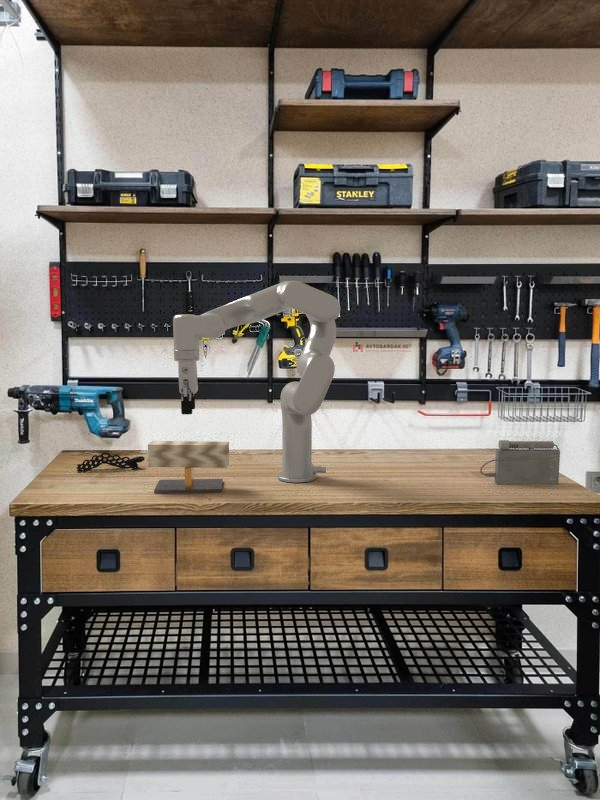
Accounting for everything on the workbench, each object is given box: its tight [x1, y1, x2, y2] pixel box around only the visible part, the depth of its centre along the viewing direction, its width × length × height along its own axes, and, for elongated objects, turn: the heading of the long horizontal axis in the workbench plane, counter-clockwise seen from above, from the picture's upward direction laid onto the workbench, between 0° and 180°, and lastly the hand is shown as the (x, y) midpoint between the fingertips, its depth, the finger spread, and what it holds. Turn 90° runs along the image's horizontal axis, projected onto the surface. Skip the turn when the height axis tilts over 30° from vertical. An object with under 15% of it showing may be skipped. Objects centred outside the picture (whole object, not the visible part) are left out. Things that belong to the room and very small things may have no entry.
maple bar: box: [147, 440, 230, 469], centre depth 209 cm, size 24×6×7 cm, turn 88°
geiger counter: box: [479, 439, 561, 485], centre depth 215 cm, size 14×6×25 cm
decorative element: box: [76, 452, 145, 472], centre depth 232 cm, size 22×5×6 cm, turn 103°
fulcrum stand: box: [153, 467, 224, 494], centre depth 210 cm, size 20×12×7 cm, turn 94°
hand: (188, 411), depth 207 cm, fingers open, 9 cm apart
